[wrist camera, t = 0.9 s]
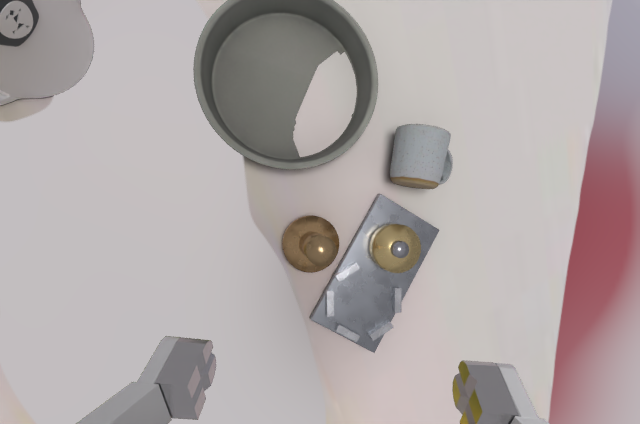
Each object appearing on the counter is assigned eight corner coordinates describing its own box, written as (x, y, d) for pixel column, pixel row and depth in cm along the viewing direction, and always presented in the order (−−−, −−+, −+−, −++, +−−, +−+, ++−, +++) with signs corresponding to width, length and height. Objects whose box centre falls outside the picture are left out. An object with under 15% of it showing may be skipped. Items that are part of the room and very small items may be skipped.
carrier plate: (308, 316, 49) (313, 327, 45) (376, 193, 51) (387, 191, 46) (373, 350, 51) (383, 363, 46) (436, 230, 53) (453, 232, 48)
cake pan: (225, 190, 47) (222, 188, 43) (178, 17, 46) (170, -4, 42) (385, 152, 51) (397, 146, 47) (346, -9, 50) (354, -30, 46)
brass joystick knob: (272, 253, 48) (275, 265, 38) (299, 205, 49) (309, 204, 39) (319, 279, 49) (333, 296, 40) (345, 232, 50) (366, 238, 40)
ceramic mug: (380, 184, 51) (402, 179, 43) (388, 131, 51) (411, 118, 44) (443, 194, 53) (474, 192, 46) (450, 144, 53) (482, 133, 46)
